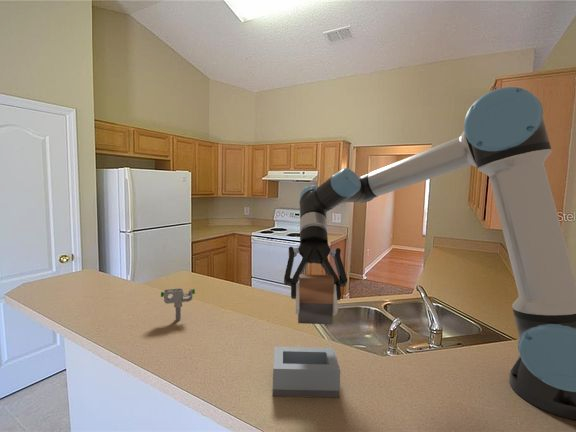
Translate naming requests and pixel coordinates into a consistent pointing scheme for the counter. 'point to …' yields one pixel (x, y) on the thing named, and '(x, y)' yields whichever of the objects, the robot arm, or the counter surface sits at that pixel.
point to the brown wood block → (315, 299)
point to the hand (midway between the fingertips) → (316, 312)
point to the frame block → (305, 372)
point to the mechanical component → (177, 299)
